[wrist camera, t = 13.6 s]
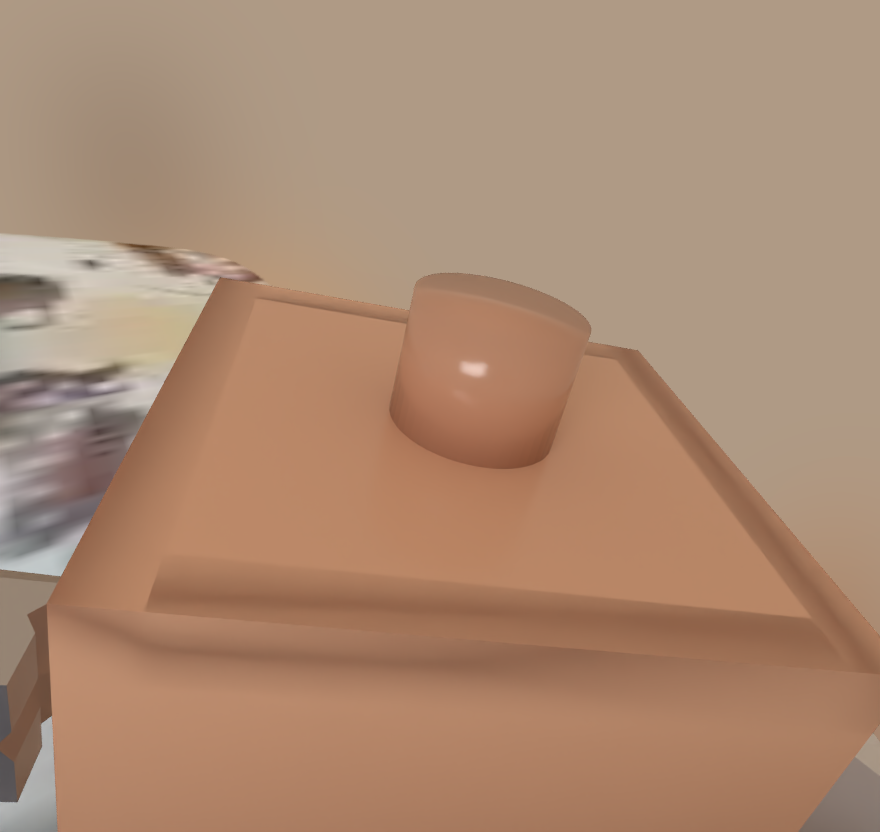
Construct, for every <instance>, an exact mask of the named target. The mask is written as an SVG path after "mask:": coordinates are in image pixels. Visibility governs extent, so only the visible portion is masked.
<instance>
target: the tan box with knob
mask: <svg viewBox="0 0 880 832" xmlns="http://www.w3.org/2000/svg"><path fill="white" fill-rule="evenodd" d="M590 334H591V326H590V324H589V322H588V321H587V320H586V318H585V317H584V316H583V315H581V314H580V313H579V312H578V311H576V310H575V309H573V308H572V307H570V306H569V305H567V304H566V303H564V302H562V301H560V300H558V299H556V298H554V297H552V296H549V295H547V294H545V293H542V292H540V291H537V290H534V289H532V288H529V287H526V286H523V285H519V284H516V283H513V282H509V281H505V280H501V279H496V278H492V277H486V276H480V275H473V274H463V273H440V274H432V275H428V276H425V277H423V278H421V279H419V280H418V281H417V282H416V284H415V287H414V292H413V297H412V302H411V307H410V310H404V309H398V308H392V307H387V306H381V305H375V304H369V303H364V302H358V301H352V300H347V299H341V298H335V297H329V296H324V295H318V294H312V293H306V292H301V291H295V290H290V289H284V288H278V287H272V286H267V285H261V284H255V283H250V282H244V281H238V280H232V279H227V278H221V277H220V279H219V280H218V282H217V284H216V286H215V288H214V290H213V292H212V294H211V295H210V297H209V299H208V301H207V303H206V305H205V307H204V309H203V311H202V312H201V314H200V316H199V318H198V320H197V322H196V324H195V326H194V327H193V329H192V331H191V333H190V335H189V337H188V339H187V341H186V342H185V344H184V346H183V348H182V350H181V352H180V354H179V356H178V358H177V359H176V361H175V363H174V365H173V367H172V369H171V371H170V373H169V374H168V376H167V378H166V380H165V382H164V384H163V386H162V388H161V389H160V391H159V393H158V395H157V397H156V399H155V401H154V403H153V405H152V406H151V408H150V410H149V412H148V414H147V416H146V418H145V420H144V421H143V423H142V425H141V427H140V429H139V431H138V433H137V435H136V436H135V438H134V440H133V442H132V444H131V446H130V448H129V450H128V452H127V453H126V455H125V457H124V459H123V461H122V463H121V465H120V467H119V468H118V470H117V472H116V474H115V476H114V478H113V480H112V482H111V484H110V485H109V487H108V489H107V491H106V493H105V495H104V497H103V499H102V500H101V502H100V504H99V506H98V508H97V510H96V512H95V514H94V515H93V517H92V519H91V521H90V523H89V525H88V527H87V529H86V531H85V532H84V534H83V536H82V538H81V540H80V542H79V544H78V546H77V547H76V549H75V551H74V553H73V555H72V557H71V559H70V561H69V562H68V564H67V566H66V568H65V570H64V572H63V574H62V576H61V578H60V579H59V581H58V583H57V585H56V587H55V589H54V591H53V593H52V594H51V596H50V598H49V600H48V602H47V623H48V643H49V663H50V684H51V704H52V724H53V745H54V765H55V785H56V806H57V826H58V832H798V831H799V830H800V829H801V827H802V826H803V825H804V823H805V822H806V821H807V819H808V818H809V817H810V815H811V814H812V813H813V812H814V810H815V809H816V808H817V806H818V805H819V804H820V802H821V801H822V800H823V798H824V797H825V796H826V794H827V793H828V792H829V790H830V789H831V788H832V786H833V785H834V784H835V782H836V781H837V780H838V778H839V777H840V776H841V774H842V773H843V772H844V770H845V769H846V768H847V767H848V765H849V764H850V763H851V761H852V760H853V759H854V757H855V756H856V755H857V753H858V752H859V751H860V749H861V748H862V747H863V745H864V744H865V743H866V741H867V740H868V739H869V737H870V736H871V735H872V733H873V732H874V731H875V729H876V728H877V727H878V725H879V724H880V636H879V635H878V633H877V632H876V631H875V630H874V629H873V628H872V626H871V625H870V624H869V623H868V622H867V620H866V619H865V618H864V617H863V616H862V615H861V614H860V612H859V611H858V610H857V609H856V607H855V606H854V605H853V604H852V603H851V602H850V600H849V599H848V598H847V597H846V596H845V595H844V593H843V592H842V591H841V590H840V589H839V587H838V586H837V585H836V584H835V583H834V582H833V580H832V579H831V578H830V577H829V576H828V575H827V573H826V572H825V571H824V570H823V568H822V567H821V566H820V565H819V564H818V562H817V561H816V560H815V559H814V558H813V557H812V555H811V554H810V553H809V552H808V551H807V550H806V548H805V547H804V546H803V545H802V544H801V542H799V540H798V539H797V538H796V536H795V535H794V534H793V533H792V532H791V531H790V529H789V528H788V527H787V526H786V525H785V523H784V522H783V521H782V520H781V519H780V518H779V516H778V515H777V514H776V513H775V512H774V510H773V509H772V508H771V507H770V506H769V505H768V504H767V502H766V501H765V500H764V499H763V498H762V496H761V495H760V494H759V493H758V492H757V491H756V489H755V488H754V487H753V486H752V485H751V484H750V482H749V481H748V480H747V479H746V478H745V476H744V475H743V474H742V473H741V471H740V470H739V469H738V468H737V467H736V466H735V464H734V463H733V462H732V461H731V460H730V458H729V457H728V456H727V455H726V454H725V453H724V451H723V450H722V449H721V448H720V447H719V445H718V444H717V443H716V442H715V441H714V440H713V438H712V437H711V436H710V435H709V434H708V433H707V432H706V430H705V429H704V428H703V427H702V425H701V424H700V423H699V422H698V421H697V420H696V418H695V417H694V416H693V415H692V414H691V412H690V411H689V410H688V409H687V408H686V406H685V405H684V404H683V403H682V402H681V401H680V399H678V397H677V396H676V395H675V393H674V392H673V391H672V390H671V389H670V388H669V386H668V385H667V384H666V383H665V382H664V381H663V379H662V378H661V377H660V376H659V375H658V373H657V372H656V371H655V370H654V369H653V367H652V366H650V364H649V363H648V362H647V360H646V359H645V358H644V357H643V356H642V354H641V353H640V352H639V351H638V350H632V349H627V348H621V347H615V346H610V345H604V344H598V343H592V342H588V340H589V337H590Z"/></svg>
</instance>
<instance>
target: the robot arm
mask: <svg viewBox="0 0 880 832" xmlns="http://www.w3.org/2000/svg"><path fill="white" fill-rule="evenodd" d="M60 578H61V576H52V575H43V574H35V573H26V572H17V571H9V570H0V802H18V800H19V797H20V795H21V793H22V791H23V788H24V786H25V784H26V781H27V779H28V777H29V775H30V772H31V770H32V768H33V766H34V763H35V761H36V759H37V757H38V754H39V752H40V750H41V748H42V736H41V723H42V722H44V721H45V720H47V719H48V718H49V717H51V716H52V704H51V684H50V663H49V643H48V623H47V602H48V600H49V598H50V596H51V594H52V593H53V591H54V589H55V587H56V585H57V583H58V581H59V579H60ZM798 832H880V742H879V740H878V739H877V737H876V736H875V735H874V733H872V735H871V736H870V737H869V739H868V740H867V741H866V743H865V744H864V745H863V747H862V748H861V749H860V751H859V752H858V753H857V755H856V756H855V757H854V759H853V760H852V761H851V763H850V764H849V765H848V767H847V768H846V769H845V770H844V772H843V773H842V774H841V776H840V777H839V778H838V780H837V781H836V782H835V784H834V785H833V786H832V788H831V789H830V790H829V792H828V793H827V794H826V796H825V797H824V798H823V800H822V801H821V802H820V804H819V805H818V806H817V808H816V809H815V810H814V812H813V813H812V814H811V815H810V817H809V818H808V819H807V821H806V822H805V823H804V825H803V826H802V827H801V829H800V830H799V831H798Z"/></svg>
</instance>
